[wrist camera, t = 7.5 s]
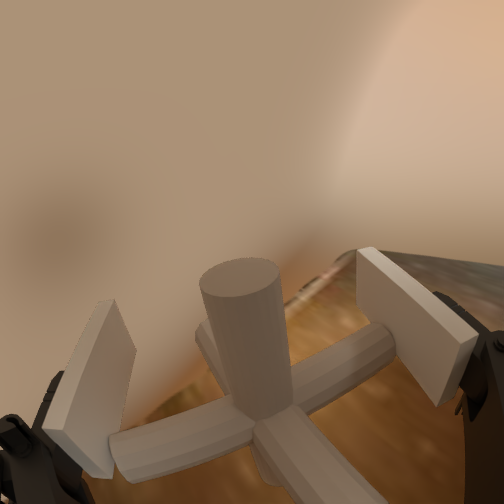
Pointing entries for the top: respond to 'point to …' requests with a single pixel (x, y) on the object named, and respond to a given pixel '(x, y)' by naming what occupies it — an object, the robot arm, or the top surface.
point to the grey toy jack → (261, 395)
